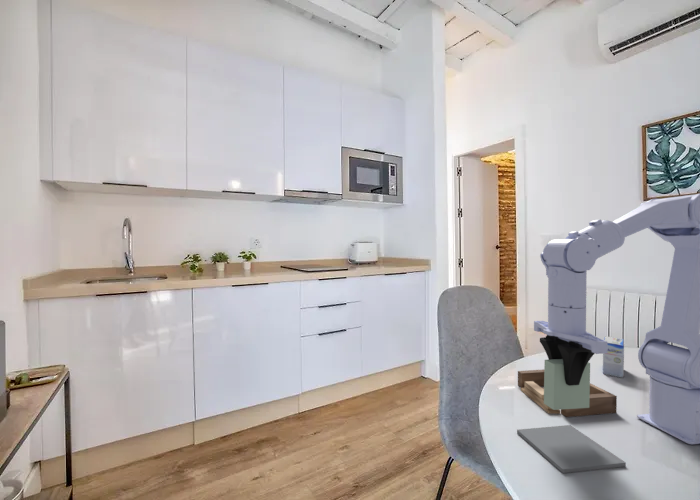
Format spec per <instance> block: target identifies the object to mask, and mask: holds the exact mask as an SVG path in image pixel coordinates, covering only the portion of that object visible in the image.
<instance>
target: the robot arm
mask: <svg viewBox="0 0 700 500" xmlns="http://www.w3.org/2000/svg"><path fill="white" fill-rule="evenodd" d="M588 224H589V226H586V227H584V228H582V229H580V230H573V231H570V232H568V236H566V237H565V238H555V239H551V240H550V241H549V242H548V243H547V244H546V245H545V246H544V248H543V250H542V253H540V255H539V257H540V261H541V263H542V265H543V266H544V267H545V276H546V277H547V278H548V280H547V281H548V284H547V286H548V287H547V293H548V295H547V304H548V305H547V321H545V320H534V321H533V331H534V332H540V333H543V334H544V335H545V337H539V342H540V344H541V345H542V348H543V349H544V351H545V353H546V356H547V358H548V359H547V360H550V359H563V364H564V376H565V382H566V384H567V385H569V386H571V385H579V383H580V380H581V377H582V374H583V371H584V369H585V367H586V365H587V363H588V362H590V360H591V359H592V357H593V355H595V354H596V355H598V354H602V355H603V354H605V353H607V345H608V342H607V341H605V340H604V339H602V338H599V337H598V336H596V335H594V334H592V333H590V332H588V331H587V271H590V270H592V268H593V267H594V265H595V264H596V262H597V260H598V259H599V258H601V257H603V256H606V255H607V254H610V253H612V252H613V251H616V250H617V249H619V248H621V247H622V246H623V245H624V244H625V240H626V238H627V237H629V236H631V235H633V234H636V233H638V232H641V231H643V230H645V229H648V230H650V232H653V233H654V234H655V235H656V236H658V237H659V238H660V239H661V240H663V241H665V242H667V243H670V244H671V245H672V247H674V252H673V257H672V263H671V268H670V274H669V279H668V285H667V290H666V296H665V300H664V306H663V311H662V312H663V313H662V316H661V324H660V326H658V327H656V328H653V329H651V330H649V331H647V332H646V333H645V338H644V340H643V342H642V344H641V345H640V347H639V349H638V352H637V357H638V362H639V364H640V365H641V367H642V368H644V369H645V374H646V375H648V376H649V404H648V405H649V408H648V411H649V412H648V413H642V414H637V415H636V417H637V418H638V419H639V420H642V421H644V422H645V423H647V424H648V425H651V426H653V427H655V428H657V429H659V430H661V431H662V432H665V433H667V434H668V435H670V436H672V437H674V438H676V439H678V440H680V441H682V442H683V443H686V444H688V445H699V444H700V193H696V194H695V193H694V194H686V195H682V196H681V195H680V196H672V197H664V198H652V199H649V200H648V201H644V202H642V203H640V204H639V206H638V207H636V208H634V209H632V210H631V211H629V212H627V213H626V214H624V215H622V216H620V217H618V218H616V219H614V220H613V221H611V220H608V219H607V220H606V219H593V220H591V221H589V222H588ZM670 343H671V344H670ZM672 343H673V344H672ZM674 344H675V345H674ZM678 345H679V346H678ZM681 346H683V347H681Z"/></svg>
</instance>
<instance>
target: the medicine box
mask: <svg viewBox="0 0 700 500" xmlns="http://www.w3.org/2000/svg"><path fill="white" fill-rule="evenodd" d="M603 340H605V341H607V342H608V345H607V353H605V354H602V374H604V375H608V376H612V377H617V378H624V372H625V369H624V368H625V339H624V338H621V337H620V338H619V337H614V336H613V337H612V336H604V338H603Z"/></svg>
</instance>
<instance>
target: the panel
mask: <svg viewBox="0 0 700 500" xmlns="http://www.w3.org/2000/svg"><path fill="white" fill-rule="evenodd" d="M543 369H544V386H543V388H544V404H545V405H547V406H548V407H550V408H551V409H553V410H560V411H561V409H577V408H589V399H590V383H591V362H590V361H588V363H587V365H586V367H585V369H584V371H583V374H582V377H581V380H580V383H579V385H571V386H569V385H567V384H566V382H565V376H564V364H563V359H550V360H549V359H544V368H543Z"/></svg>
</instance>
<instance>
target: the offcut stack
mask: <svg viewBox="0 0 700 500" xmlns="http://www.w3.org/2000/svg"><path fill="white" fill-rule="evenodd" d="M543 388H544V387H542V386H539V385H537V384H536V383H534V382H533V381H524V387H523V388H522V387H520V391H521V392H522V393H523V394H525V395H526V396H527V397H528V398H530V400H532V401H533V402H534V403H535V404H536V405H538V406H539V407H541V409H543V410H544V411H545V412H546V413H547V414H548V415H549V414H551V415H553V414H554V415H555V414H557V415H558V414H559V415H561V409H560V410H553V409H551V408H550V407H548V406H547V405H545V404H544V389H543Z"/></svg>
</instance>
